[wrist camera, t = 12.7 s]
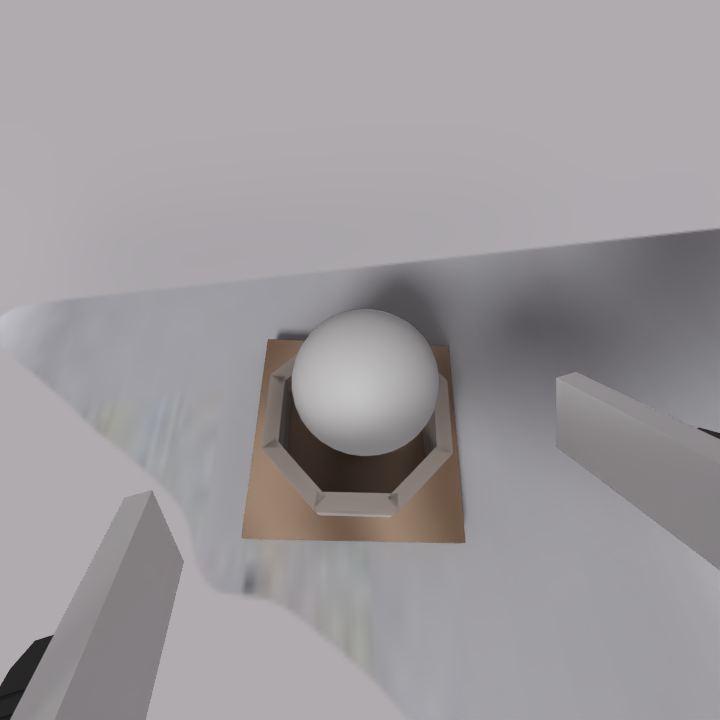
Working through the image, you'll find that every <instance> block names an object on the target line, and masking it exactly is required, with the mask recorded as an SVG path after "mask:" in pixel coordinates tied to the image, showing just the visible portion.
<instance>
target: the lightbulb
mask: <svg viewBox="0 0 720 720" xmlns="http://www.w3.org/2000/svg"><path fill="white" fill-rule="evenodd" d="M438 392H439V373H438V367H437V363H436V360H435V357H434V355H433V352H432V350H431V347H430V346H429V344H428V343H427V341H426V339H425V338H424V337H423V336H422V335H421V333H420V332H419V331H418V330H417V329H416V328H415V327H413V326H412V325H411V324H409V323H408V322H407V321H405V320H403V319H402V318H400V317H398V316H396V315H394V314H391V313H388V312H385V311H381V310H374V309H356V310H351V311H346V312H342V313H340V314H337V315H335V316H332V317H330V318H329V319H327V320H325V321H324V322H322V323H321V324H320V325H319V326H317V327H316V328H315V329H314V330H313V331H312V332H311V333H310V335H309V336H308V337H307V339H306V340H305V342H304V343H303V344H302V346H301V348H300V350H299V352H298V354H297V356H296V359H295V363H294V368H293V372H292V393H293V398H294V402H295V406H296V409H297V411H298V413H299V415H300V418H301V420H302V421H303V423H304V424H305V425H306V427H307V428H308V430H309V431H310V432H311V433H312V434H313V435H314V436H315V437H317V438H318V439H319V440H320V441H321V442H323V443H324V444H326V445H328V446H330V447H331V448H333V449H335V450H338V451H341V452H344V453H346V454H351V455H358V456H373V455H381V454H385V453H388V452H392V451H394V450H396V449H398V448H400V447H402V446H404V445H406V444H407V443H409V442H410V441H411V440H412V439H414V438H415V437H416V436H417V435H418V434H419V433H420V432H421V430H422V429H423V428H424V427H425V426H426V424H427V423H428V421H429V419H430V417H431V415H432V413H433V411H434V410H435V406H436V402H437V398H438Z"/></svg>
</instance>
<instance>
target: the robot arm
mask: <svg viewBox="0 0 720 720" xmlns="http://www.w3.org/2000/svg"><path fill="white" fill-rule="evenodd" d="M556 426H557V447H558V448H559V449H560V450H562V451H563V452H564V453H566V454H567V455H568V456H569V457H571V458H572V459H573V460H575V461H576V462H577V463H579V464H580V465H581V466H583V467H584V468H585V469H587V470H588V471H589V472H591V473H592V474H593V475H595V476H596V477H597V478H599V479H600V480H601V481H603V482H604V483H605V484H606V485H608V486H609V487H610V488H612V489H613V490H614V491H616V492H617V493H618V494H620V495H621V496H622V497H624V498H625V499H626V500H628V501H629V502H630V503H632V504H633V505H634V506H636V507H637V508H638V509H640V510H641V511H642V512H643V513H645V514H646V515H647V516H649V517H650V518H651V519H653V520H654V521H655V522H657V523H658V524H659V525H661V526H662V527H663V528H665V529H666V530H667V531H669V532H670V533H671V534H673V535H674V536H675V537H677V538H678V539H679V540H680V541H682V542H683V543H684V544H686V545H687V546H688V547H690V548H691V549H692V550H694V551H695V552H696V553H698V554H699V555H700V556H702V557H703V558H704V559H706V560H707V561H708V562H710V563H711V564H712V565H714V566H715V567H716V568H717V569H719V570H720V433H717V432H714V431H710V430H706V429H702V428H695V427H692V426H690V425H688V424H686V423H684V422H682V421H680V420H677V419H675V418H673V417H671V416H669V415H667V414H665V413H663V412H660V411H658V410H656V409H654V408H652V407H650V406H648V405H645V404H643V403H641V402H639V401H637V400H635V399H633V398H631V397H628V396H626V395H624V394H622V393H620V392H618V391H616V390H614V389H611V388H609V387H607V386H605V385H603V384H601V383H599V382H596V381H594V380H592V379H590V378H588V377H586V376H584V375H582V374H579V373H577V372H574V373H570V374H567V375H563V376H560V377H556ZM183 562H184V561H183V559H182V557H181V554H180V552H179V550H178V548H177V545H176V543H175V541H174V539H173V536H172V534H171V532H170V530H169V527H168V525H167V523H166V521H165V518H164V516H163V514H162V512H161V509H160V507H159V505H158V502H157V500H156V498H155V496H154V494H153V491H148V492H144V493H141V494H137V495H133V496H130V497H127V498H124V500H123V502H122V504H121V506H120V507H119V510H118V512H117V513H116V515H115V517H114V519H113V521H112V523H111V525H110V527H109V529H108V531H107V533H106V535H105V537H104V539H103V541H102V542H101V544H100V546H99V548H98V550H97V552H96V554H95V556H94V558H93V560H92V562H91V564H90V566H89V568H88V570H87V572H86V574H85V576H84V577H83V579H82V581H81V583H80V585H79V587H78V589H77V591H76V593H75V595H74V597H73V599H72V601H71V603H70V604H69V607H68V608H67V610H66V612H65V614H64V616H63V618H62V620H61V622H60V624H59V626H58V628H57V630H56V632H55V634H54V635H52V636H49V637H45V638H42V639H39V640H36V641H34V643H33V644H32V645H31V646H30V647H29V648H28V649H27V651H26V652H25V653H24V654H23V655H22V656H21V657H20V658H19V660H18V661H17V662H16V663H15V664H14V665H13V666H12V668H11V669H10V670H9V672H8V674H7V675H6V677H5V679H4V681H3V682H2V684H1V686H0V720H146V716H147V712H148V707H149V703H150V699H151V695H152V691H153V687H154V683H155V678H156V674H157V670H158V666H159V661H160V658H161V654H162V649H163V645H164V641H165V637H166V633H167V629H168V625H169V620H170V616H171V612H172V608H173V604H174V600H175V595H176V591H177V587H178V583H179V579H180V575H181V571H182V567H183Z"/></svg>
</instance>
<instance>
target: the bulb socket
mask: <svg viewBox="0 0 720 720" xmlns="http://www.w3.org/2000/svg"><path fill="white" fill-rule="evenodd" d="M304 342H305V341H302V340H272V339H268V343H267V350H266V358H265V365H264V373H263V380H262V388H261V395H260V403H259V410H258V418H257V425H256V433H255V440H254V448H253V455H252V463H251V470H250V478H249V485H248V493H247V500H246V508H245V515H244V523H243V530H242V538H246V539H286V540H332V541H378V542H423V543H465V533H464V521H463V509H462V497H461V486H460V474H459V462H458V450H457V439H456V427H455V415H454V403H453V391H452V380H451V368H450V356H449V345H429V346H430V347H431V350H432V352H433V355H434V357H435V360H436V363H437V367H438V373H439V392H438V398H437V402H436V406H435V410H434V411H433V413H432V415H431V417H430V419H429V421H428V423H427V424H426V426H425V427H424V428H423V429H422V430H421V432H420V433H419V434H418V435H417V436H416V437H415V438H414V439H412V440H411V441H410V442H409V443H407V444H406V445H404V446H402V447H400V448H398V449H396V450H394V451H392V452H388V453H385V454H381V455H373V456H358V455H351V454H346V453H344V452H341V451H338V450H335V449H333V448H331V447H330V446H328V445H326V444H324V443H323V442H321V441H320V440H319V439H318V438H317V437H315V436H314V435H313V434H312V433H311V432H310V431H309V430H308V428H307V427H306V425H305V424H304V423H303V421H302V420H301V418H300V415H299V413H298V411H297V409H296V406H295V402H294V398H293V393H292V372H293V368H294V363H295V359H296V356H297V354H298V352H299V350H300V348H301V346H302V344H303V343H304Z"/></svg>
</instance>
